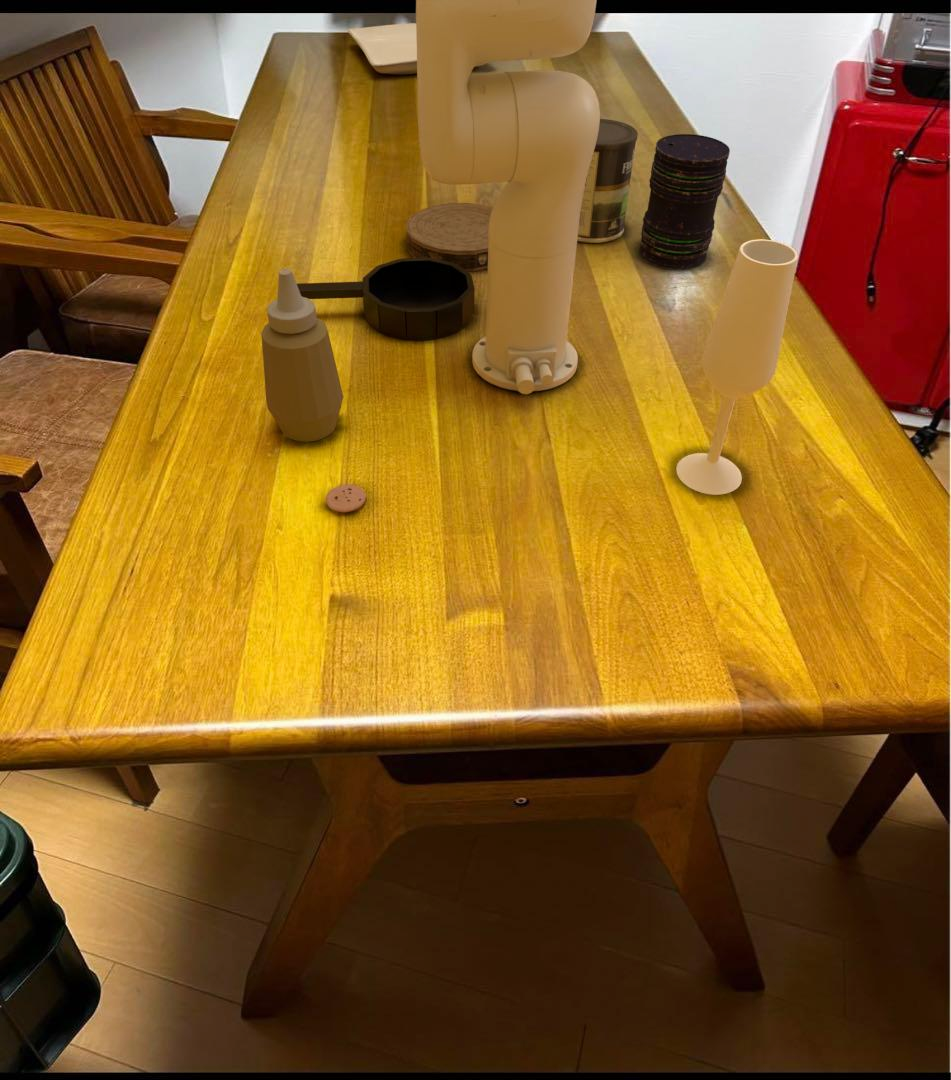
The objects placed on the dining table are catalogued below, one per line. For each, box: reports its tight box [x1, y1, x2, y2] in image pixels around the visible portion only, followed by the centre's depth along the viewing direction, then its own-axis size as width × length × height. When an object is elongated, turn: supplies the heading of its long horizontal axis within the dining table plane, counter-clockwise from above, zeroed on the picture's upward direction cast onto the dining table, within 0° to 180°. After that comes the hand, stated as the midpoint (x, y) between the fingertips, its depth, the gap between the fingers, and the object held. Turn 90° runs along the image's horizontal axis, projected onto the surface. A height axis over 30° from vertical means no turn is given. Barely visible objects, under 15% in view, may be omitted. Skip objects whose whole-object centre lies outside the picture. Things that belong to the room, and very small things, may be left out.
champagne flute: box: [675, 238, 799, 496], centre depth 79 cm, size 7×7×24 cm
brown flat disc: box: [406, 202, 493, 272], centre depth 122 cm, size 16×16×3 cm
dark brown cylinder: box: [638, 133, 731, 271], centre depth 117 cm, size 10×10×15 cm
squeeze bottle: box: [260, 268, 344, 443], centre depth 85 cm, size 8×8×18 cm
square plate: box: [347, 22, 489, 76], centre depth 187 cm, size 27×27×4 cm
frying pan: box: [296, 257, 475, 341], centre depth 108 cm, size 14×24×4 cm, turn 96°
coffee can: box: [577, 118, 639, 244], centre depth 123 cm, size 10×10×14 cm
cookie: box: [325, 483, 367, 513], centre depth 83 cm, size 4×4×1 cm
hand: (455, 100), depth 121 cm, fingers closed
